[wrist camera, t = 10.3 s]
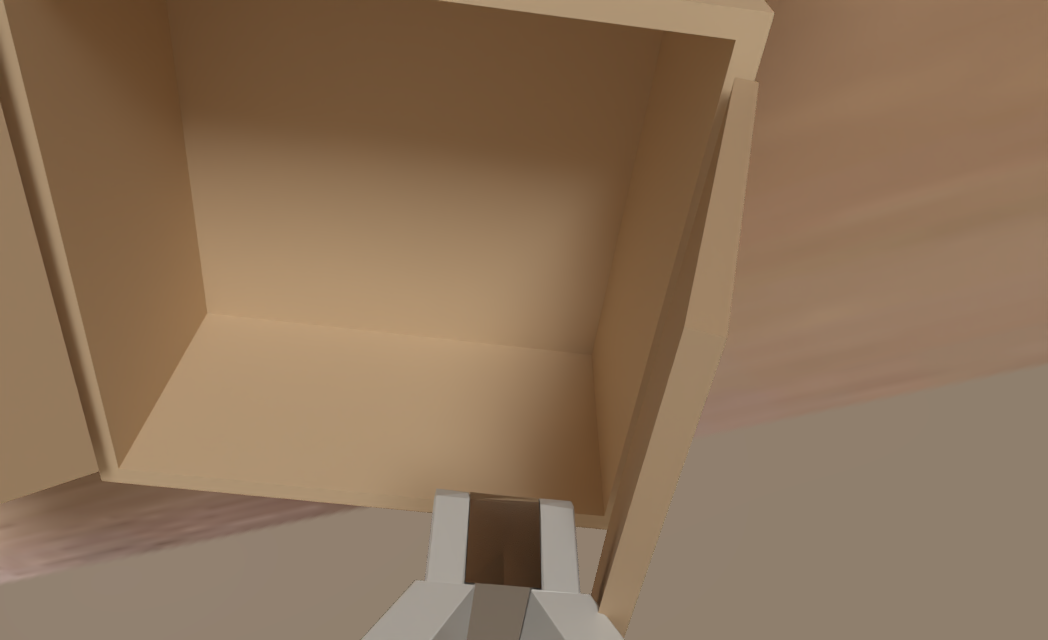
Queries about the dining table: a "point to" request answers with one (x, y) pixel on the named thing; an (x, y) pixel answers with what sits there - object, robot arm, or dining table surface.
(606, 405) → the carton
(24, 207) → the flap
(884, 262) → the dining table surface
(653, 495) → the flap
